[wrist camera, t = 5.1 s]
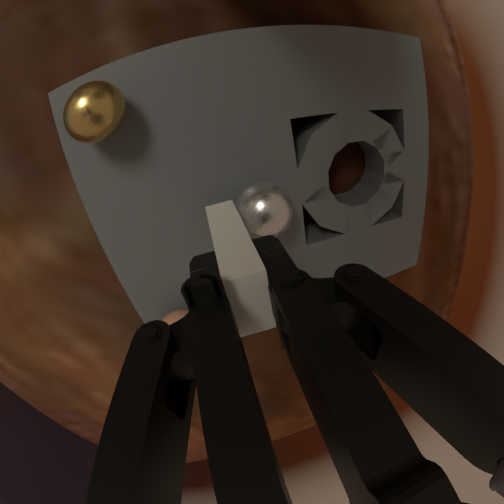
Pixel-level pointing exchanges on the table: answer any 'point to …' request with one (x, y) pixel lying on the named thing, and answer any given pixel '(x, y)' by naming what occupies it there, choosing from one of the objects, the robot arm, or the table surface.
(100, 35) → the table surface
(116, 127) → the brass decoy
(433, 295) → the table surface
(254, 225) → the steel ball
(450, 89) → the table surface
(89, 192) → the plate
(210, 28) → the table surface
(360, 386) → the robot arm
